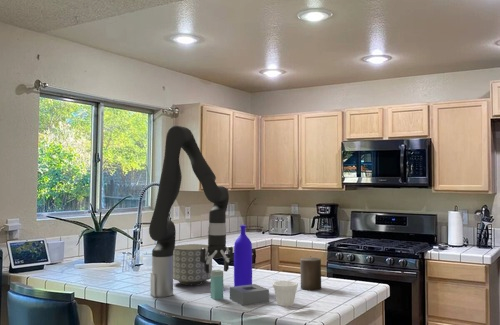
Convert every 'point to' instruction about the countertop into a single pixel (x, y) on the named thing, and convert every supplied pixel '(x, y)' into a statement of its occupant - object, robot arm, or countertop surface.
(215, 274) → the plug
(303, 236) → the countertop surface
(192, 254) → the planter
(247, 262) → the bottle
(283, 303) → the cup
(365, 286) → the countertop surface
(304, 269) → the pillar candle
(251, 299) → the grey socket block
